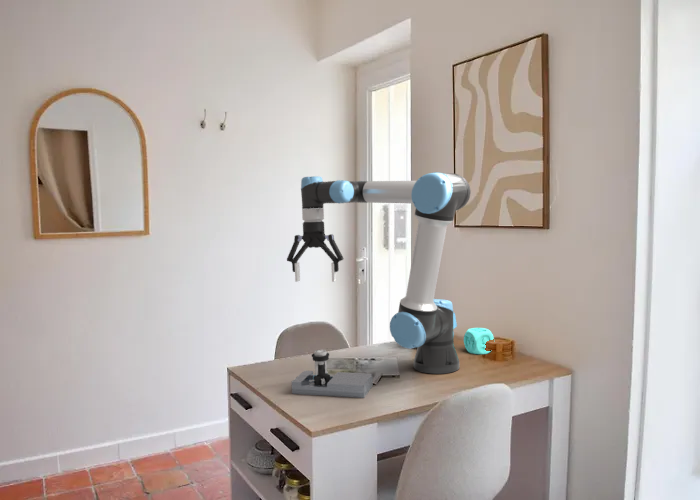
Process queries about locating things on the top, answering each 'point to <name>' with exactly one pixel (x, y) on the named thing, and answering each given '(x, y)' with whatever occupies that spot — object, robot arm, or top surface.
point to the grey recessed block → (334, 385)
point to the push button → (320, 367)
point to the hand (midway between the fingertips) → (315, 281)
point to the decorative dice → (477, 340)
